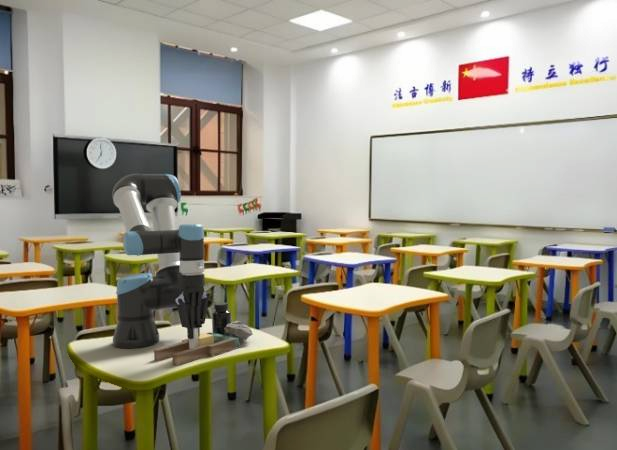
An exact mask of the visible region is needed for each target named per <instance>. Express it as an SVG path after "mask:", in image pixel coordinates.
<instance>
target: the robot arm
mask: <svg viewBox="0 0 617 450" xmlns="http://www.w3.org/2000/svg"><path fill="white" fill-rule="evenodd" d="M179 182H180V181H179V180H178V179H177V177H176V176H175V175H173V174H169V173H157V174H156V173H130V174H128V175H125V176H124V177H122V178H120V180H118V181H117V182H116V184H115V185H114V186H113V189H112V192H111V193H112V194H111V197H112V198H111V199H112V201H113V204H114V206H115V207H117V208H118V210H119V213H120V217H121V219H122V222H123V225H124V228H125V231H126V232H124V233H123V238H122V245H123V252H124V254H125V255H127V256H136V257H137V256H148V255H157V261H158V267H159V268H158V270H157V271H156V272H155V276H154V275H153V273H152V272H141V273H140V272H139V273H134V274H130V275H129V274H128V275H127V276H122V277H120V278H119V279H118V280H117V282H116V291H115V293H116V294H115V295H116V307H117V308H116V310H117V311H116V312H117V323H116V326H115V329H114V333H113V336H112V346H113V347H114V348H119V349H138V348H139V349H140V348H144V347H149V346H153V345H156V344H157V343H159V341H160V333H159V330H158V327H157V325H156V321H155V320H154V311H157V310H168V309H177V312H178V316H179V321H180V326H181V327H182V328H186V329H187V339H189V348H190V349H192V348H195V347H198V337H199V336H200V334H201V333H200V332H201V331H200V328H202V327H203V325H204V324H206V323H205V322H206V317H207V311H208V304H209V300H210V298H211V293H210V292H206V291H205V288H204V286H205V285H206V284H205V283H206V282H205V276H206V275H205V273H204V272H205V244H204V243H205V241H204V239H205V234H204V233H205V232H204V226H203V224H201V223H190V224H189V223H188V224H187V223H186V224H180V225H179V227H178V225H177V224H178V223H177V222H178V221H177V217H176V212H175V210H176V208H177V207H178V205H179V203H180V201H181V199H182V198H181V197H182V196H181V195H182V193H181V186H180V183H179ZM142 205H145V209H146V211H147V212H149V213H151V220H152V227H151V226H150V223H149V221H148V218H147V216H146V213H145V211H144V208H143V206H142ZM152 228H153V230H152Z"/></svg>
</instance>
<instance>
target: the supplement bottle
mask: <svg viewBox="0 0 617 450" xmlns="http://www.w3.org/2000/svg"><path fill="white" fill-rule="evenodd" d="M213 309H214V311H213V312H212V313H211V325H212V326H211V329H212V330H211V331H212V333H215V334H220V335H224V332H225V331H224V330H225V329H224V328H225V327H226V325H227V324H230V323H233V319H232V312H231V311H230V310H229V303H228V302H216V303H214V308H213Z"/></svg>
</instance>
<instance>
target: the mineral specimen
mask: <svg viewBox="0 0 617 450" xmlns="http://www.w3.org/2000/svg"><path fill="white" fill-rule="evenodd" d="M224 329H225V330H224V331H225V332H224V335H225V336H231V337H236V338H239V344H241V342H243V341H247V340H248V339H249V338H250V337H251V336H253V331H252V330H251V328H250V327H249V326H248V324H244V323H243V322H242V321H240V320H235V321H232V323H230V324H227V325H226V327H225V328H224Z"/></svg>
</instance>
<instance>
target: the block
mask: <svg viewBox="0 0 617 450" xmlns="http://www.w3.org/2000/svg"><path fill="white" fill-rule="evenodd" d="M206 333H207V332H203V333H200V336H199V337H198V346H202V345H206V346H208V345H211V344H214V335H210V334H206Z"/></svg>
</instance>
